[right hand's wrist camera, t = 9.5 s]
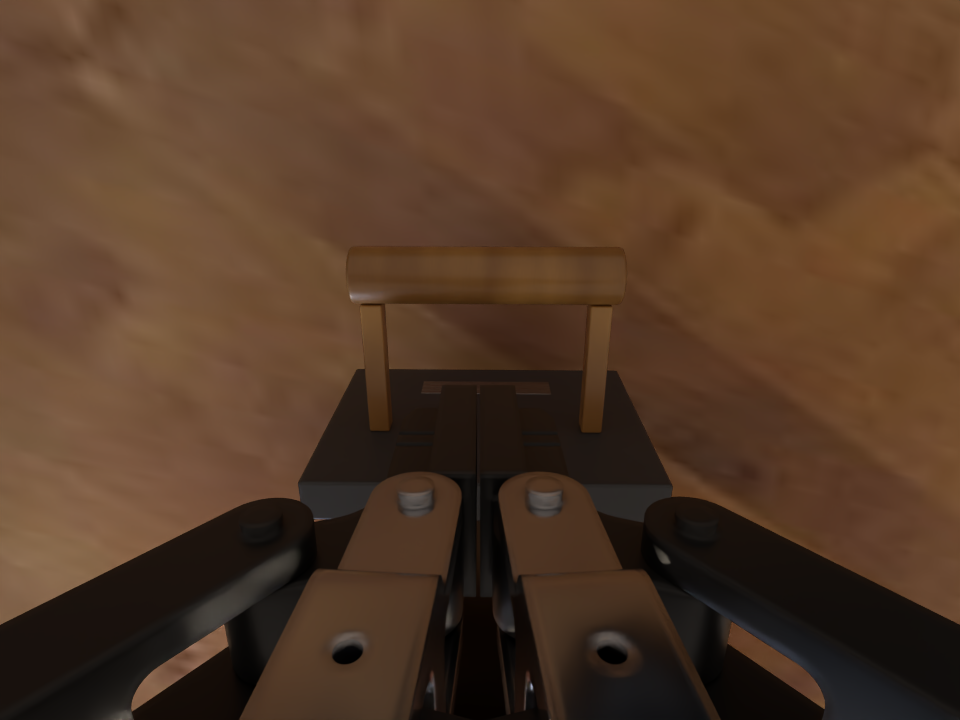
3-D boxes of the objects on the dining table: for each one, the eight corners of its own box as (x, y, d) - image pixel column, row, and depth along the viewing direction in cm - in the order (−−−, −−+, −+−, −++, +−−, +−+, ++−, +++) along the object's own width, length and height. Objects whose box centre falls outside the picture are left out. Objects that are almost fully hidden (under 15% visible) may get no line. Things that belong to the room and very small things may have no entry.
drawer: (342, 219, 20) (266, 274, 13) (631, 220, 20) (706, 276, 13) (388, 722, 29) (357, 904, 23) (581, 725, 29) (609, 909, 23)
